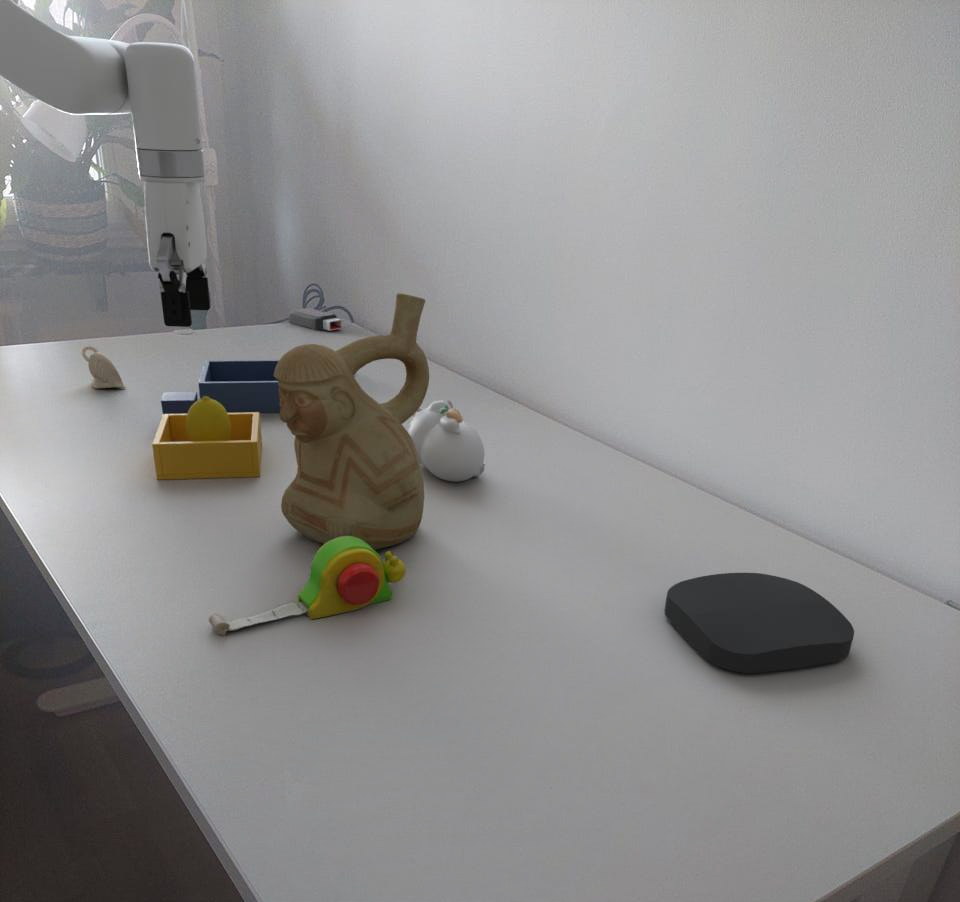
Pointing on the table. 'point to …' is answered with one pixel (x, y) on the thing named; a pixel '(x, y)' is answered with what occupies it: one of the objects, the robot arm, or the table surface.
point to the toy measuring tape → (333, 584)
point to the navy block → (178, 402)
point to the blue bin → (241, 385)
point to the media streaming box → (758, 622)
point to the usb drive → (315, 319)
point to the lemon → (208, 421)
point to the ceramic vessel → (354, 437)
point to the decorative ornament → (102, 370)
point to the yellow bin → (208, 450)
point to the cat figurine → (446, 442)
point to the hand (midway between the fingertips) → (188, 317)
